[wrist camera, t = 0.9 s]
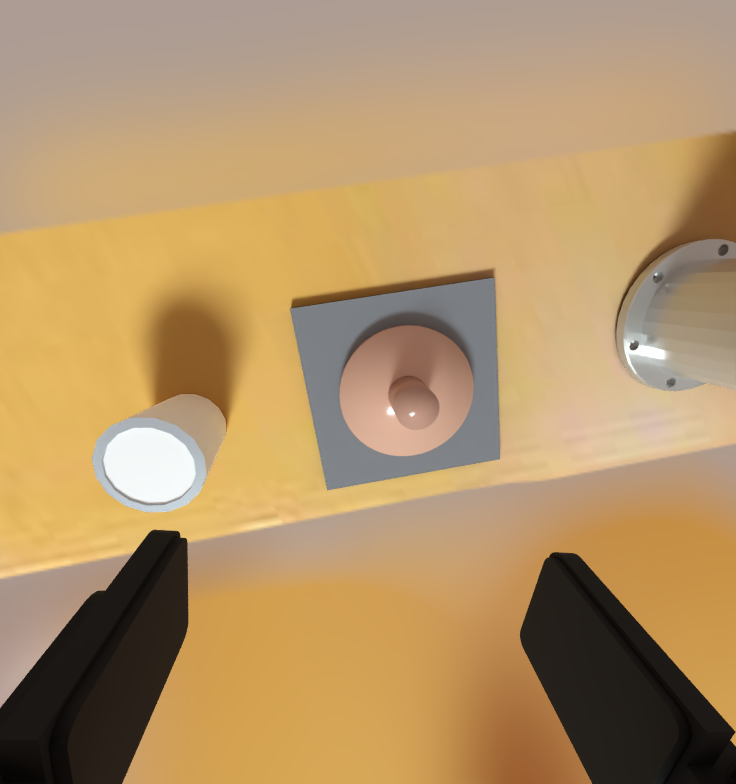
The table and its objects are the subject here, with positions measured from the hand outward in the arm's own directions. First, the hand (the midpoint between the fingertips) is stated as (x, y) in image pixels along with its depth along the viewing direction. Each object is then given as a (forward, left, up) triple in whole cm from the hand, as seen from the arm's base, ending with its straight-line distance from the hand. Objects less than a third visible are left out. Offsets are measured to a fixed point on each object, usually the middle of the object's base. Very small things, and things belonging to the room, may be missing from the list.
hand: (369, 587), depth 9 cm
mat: (-5, -2, -21) cm, 22 cm away
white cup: (+8, +11, -21) cm, 25 cm away
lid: (-5, -2, -20) cm, 21 cm away
